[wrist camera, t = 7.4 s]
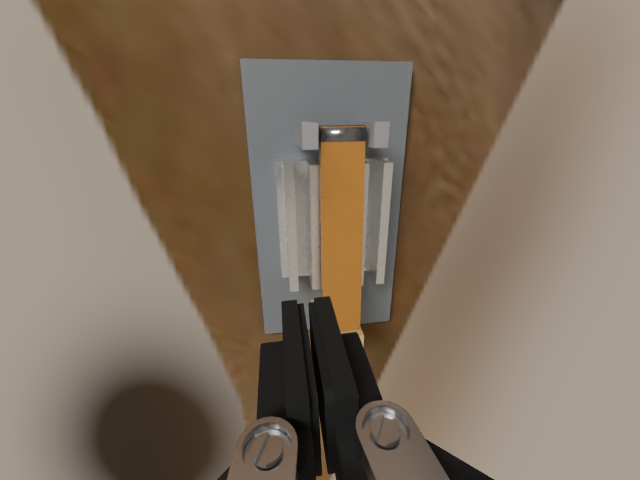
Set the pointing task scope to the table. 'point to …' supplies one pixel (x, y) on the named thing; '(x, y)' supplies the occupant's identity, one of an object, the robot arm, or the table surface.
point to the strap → (342, 218)
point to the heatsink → (305, 227)
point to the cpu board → (303, 142)
